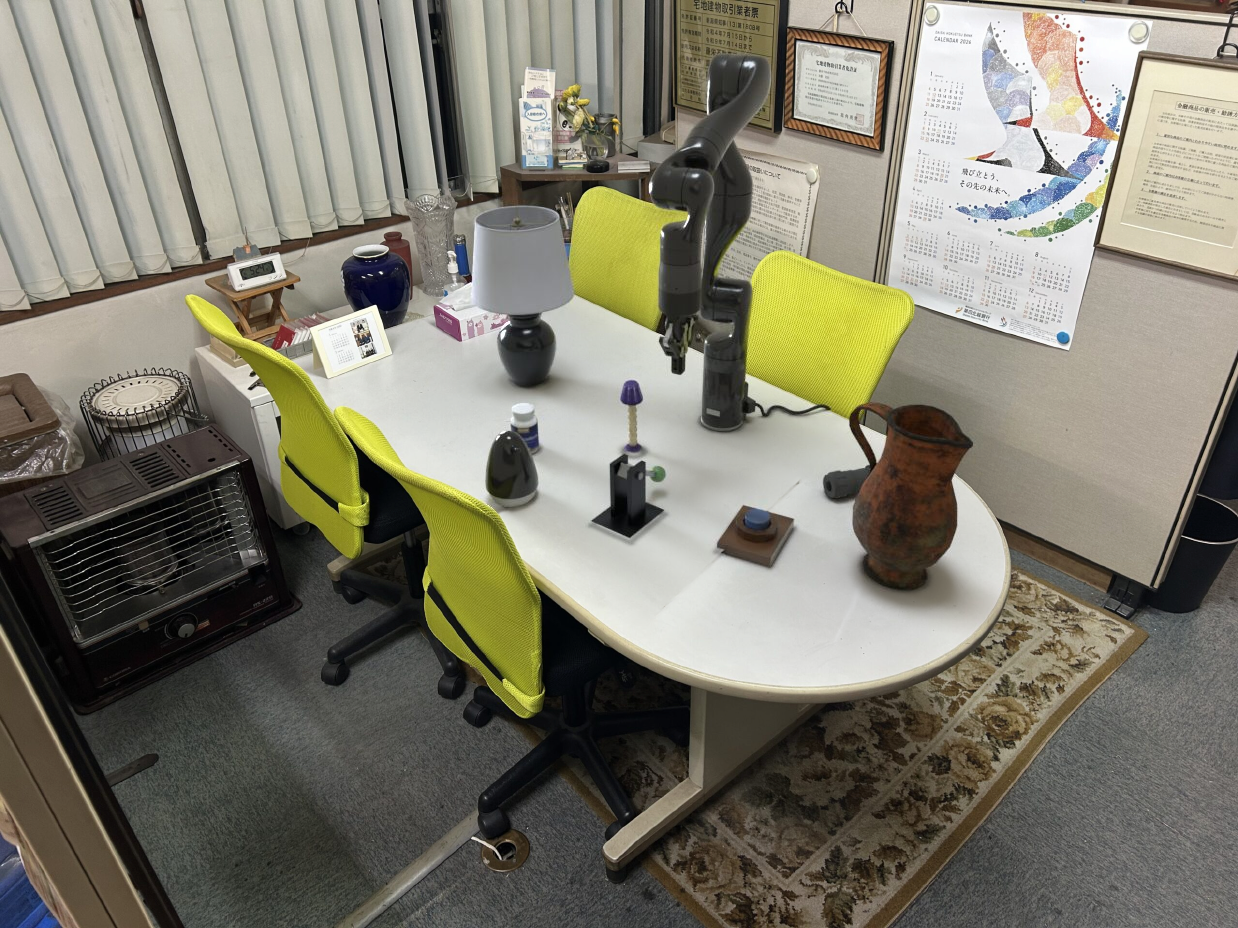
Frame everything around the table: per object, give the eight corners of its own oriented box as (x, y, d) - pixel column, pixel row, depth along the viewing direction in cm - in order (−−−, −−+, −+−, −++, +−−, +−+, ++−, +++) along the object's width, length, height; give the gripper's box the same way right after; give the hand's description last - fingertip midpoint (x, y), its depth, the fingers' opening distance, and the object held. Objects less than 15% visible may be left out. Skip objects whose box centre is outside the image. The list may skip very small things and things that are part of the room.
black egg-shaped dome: (499, 521, 168) (491, 452, 160) (480, 493, 176) (472, 427, 168) (548, 506, 172) (543, 438, 164) (527, 480, 180) (522, 414, 172)
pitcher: (910, 616, 144) (943, 459, 128) (805, 556, 157) (824, 407, 142) (965, 573, 153) (1002, 421, 137) (861, 519, 167) (884, 376, 151)
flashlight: (832, 505, 171) (835, 481, 168) (819, 490, 175) (821, 467, 172) (902, 490, 175) (906, 467, 172) (887, 476, 179) (891, 453, 176)
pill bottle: (520, 458, 187) (516, 417, 182) (508, 446, 191) (504, 406, 186) (544, 450, 189) (541, 409, 184) (531, 439, 194) (528, 398, 188)
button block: (742, 514, 169) (743, 496, 167) (793, 528, 165) (795, 510, 163) (716, 551, 159) (717, 533, 157) (769, 567, 155) (771, 549, 153)
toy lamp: (640, 459, 186) (640, 388, 177) (619, 457, 187) (617, 386, 178) (644, 448, 190) (645, 378, 181) (623, 446, 191) (622, 376, 182)
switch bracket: (626, 498, 174) (626, 442, 167) (664, 514, 169) (665, 457, 162) (591, 525, 166) (589, 467, 159) (629, 542, 162) (629, 484, 155)
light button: (749, 514, 162) (750, 506, 161) (772, 520, 161) (773, 512, 160) (741, 527, 159) (741, 519, 158) (764, 533, 157) (765, 525, 156)
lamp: (596, 371, 221) (591, 212, 200) (539, 411, 204) (527, 241, 183) (520, 351, 232) (508, 197, 211) (460, 387, 215) (440, 224, 194)
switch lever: (652, 479, 173) (657, 464, 173) (665, 484, 172) (670, 469, 171) (614, 476, 162) (619, 459, 161) (628, 481, 160) (633, 465, 160)
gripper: (684, 300, 149) (682, 392, 158) (713, 274, 159) (710, 361, 168) (644, 293, 152) (644, 383, 161) (675, 268, 161) (673, 354, 171)
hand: (678, 372), depth 164 cm, fingers closed
